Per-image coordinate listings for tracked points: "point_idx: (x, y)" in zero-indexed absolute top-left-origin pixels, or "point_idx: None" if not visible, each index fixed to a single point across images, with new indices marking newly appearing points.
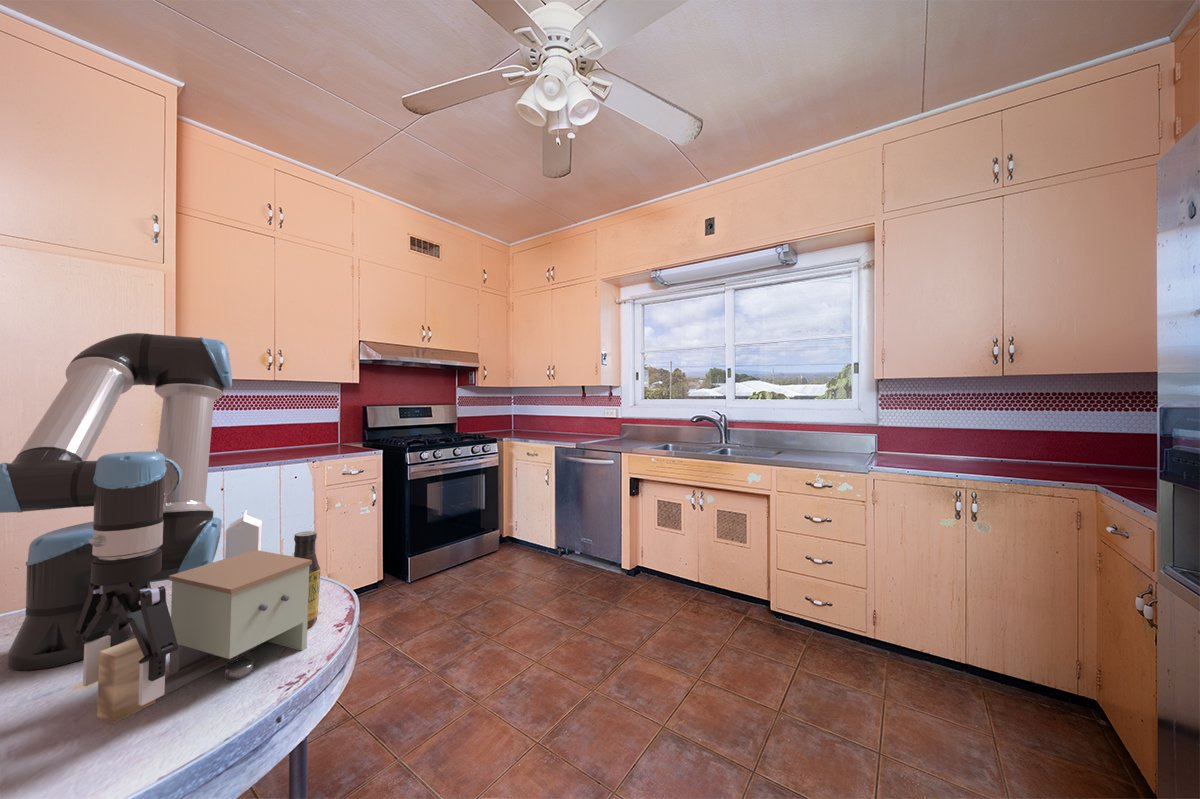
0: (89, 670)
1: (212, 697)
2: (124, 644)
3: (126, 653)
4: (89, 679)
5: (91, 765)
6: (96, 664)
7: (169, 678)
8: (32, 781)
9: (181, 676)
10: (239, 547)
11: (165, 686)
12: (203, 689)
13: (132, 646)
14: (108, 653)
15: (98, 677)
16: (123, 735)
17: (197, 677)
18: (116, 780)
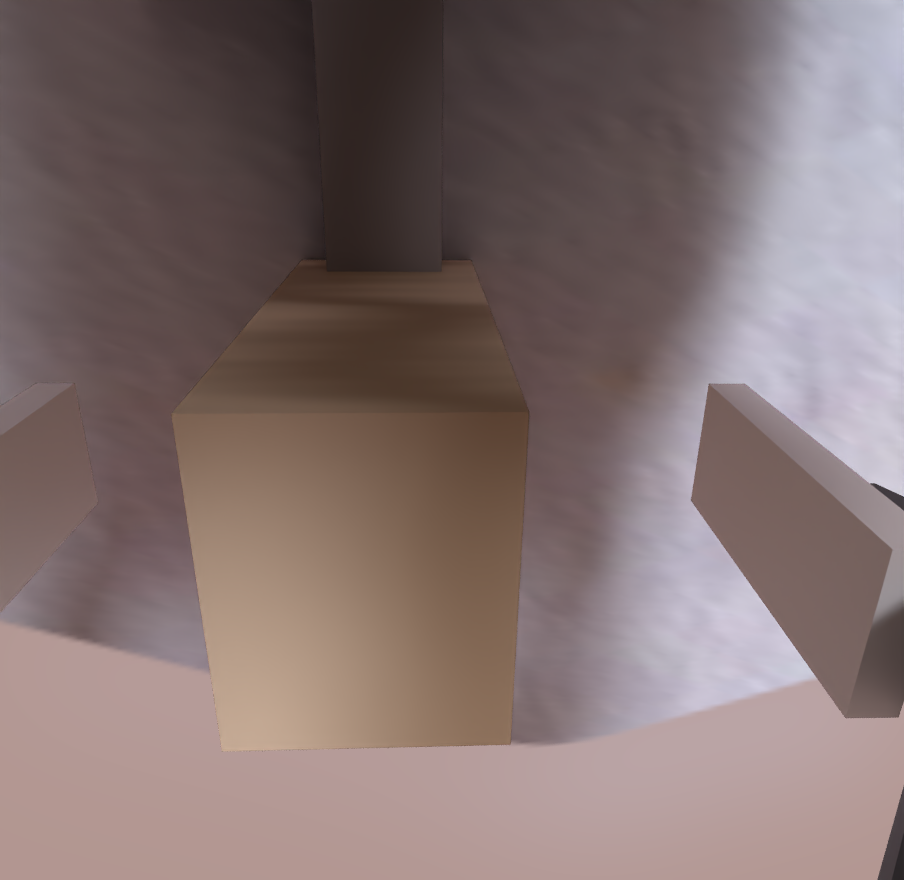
0: (46, 544)
1: (788, 89)
2: (271, 602)
3: (510, 668)
4: (74, 502)
5: (701, 616)
6: (19, 518)
7: (360, 119)
8: (575, 717)
9: (420, 64)
10: None
11: (439, 191)
12: (634, 43)
13: (419, 597)
14: (359, 740)
15: (76, 453)
16: (622, 480)
17: None
18: None
